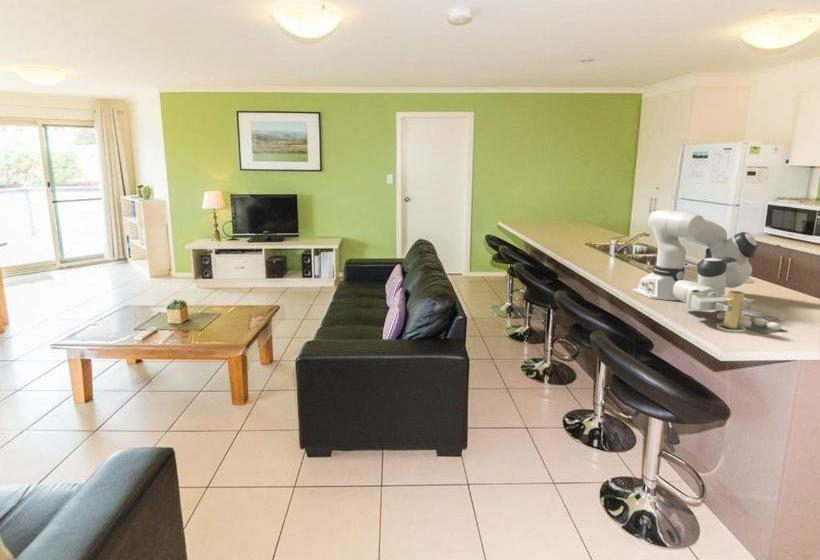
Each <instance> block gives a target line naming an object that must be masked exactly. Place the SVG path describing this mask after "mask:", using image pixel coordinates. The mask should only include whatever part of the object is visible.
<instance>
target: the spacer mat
mask: <svg viewBox="0 0 820 560" xmlns="http://www.w3.org/2000/svg"><path fill="white" fill-rule="evenodd" d="M725 313H726V312H717V316H716V317H712V319H714V320H716V321H720V322H721V323H724V319H725ZM739 325H740V326H743V327H745V329H746V331H751V332H754V333H757V334H760V335H768V334H775V333H782V332H787V330H786V329H782V324H781V323H776V322H771V321H768V320H765V318H759V317H757V318H753V320H752V319H751V317H749V316H746V315H745V313H744V312H742V311H741V317H740V323H739Z"/></svg>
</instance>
